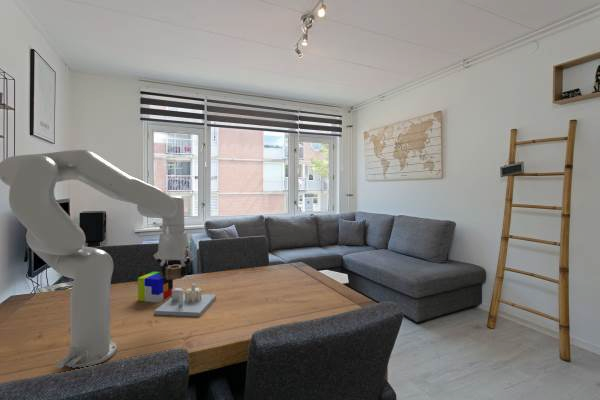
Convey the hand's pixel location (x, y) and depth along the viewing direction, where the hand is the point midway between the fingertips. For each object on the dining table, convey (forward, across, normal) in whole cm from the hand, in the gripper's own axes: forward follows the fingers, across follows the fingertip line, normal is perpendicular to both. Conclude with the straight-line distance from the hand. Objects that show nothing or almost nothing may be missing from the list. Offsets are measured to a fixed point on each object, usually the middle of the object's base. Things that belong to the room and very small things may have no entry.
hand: (174, 275), depth 112 cm
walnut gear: (+1, 0, 0) cm, 1 cm away
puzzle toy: (+17, -19, +18) cm, 31 cm away
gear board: (+17, 0, +11) cm, 20 cm away
